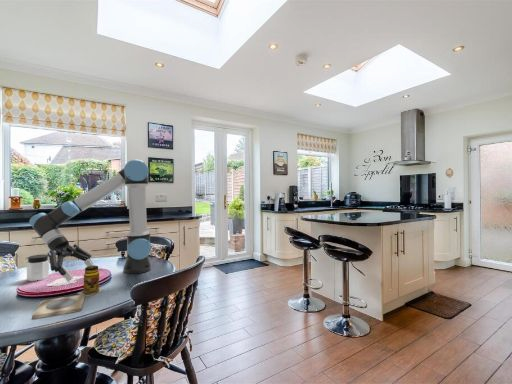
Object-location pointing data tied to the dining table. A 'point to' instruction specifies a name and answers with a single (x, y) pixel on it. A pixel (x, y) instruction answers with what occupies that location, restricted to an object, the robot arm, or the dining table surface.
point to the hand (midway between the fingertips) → (83, 274)
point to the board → (59, 306)
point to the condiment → (91, 281)
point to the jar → (37, 267)
